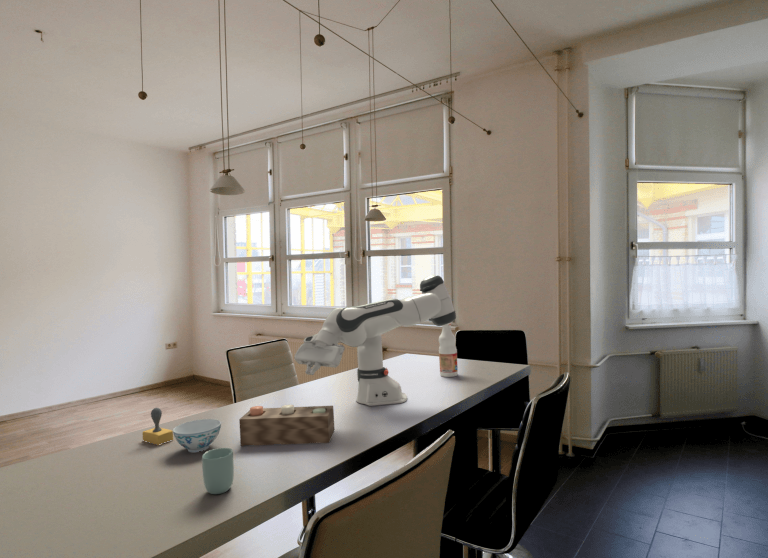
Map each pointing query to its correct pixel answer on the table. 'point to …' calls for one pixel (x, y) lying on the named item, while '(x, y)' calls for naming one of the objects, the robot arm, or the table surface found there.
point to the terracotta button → (256, 410)
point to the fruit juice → (447, 353)
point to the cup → (218, 470)
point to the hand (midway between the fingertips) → (308, 373)
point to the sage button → (319, 410)
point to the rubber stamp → (157, 430)
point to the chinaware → (197, 434)
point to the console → (287, 426)
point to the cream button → (287, 409)
